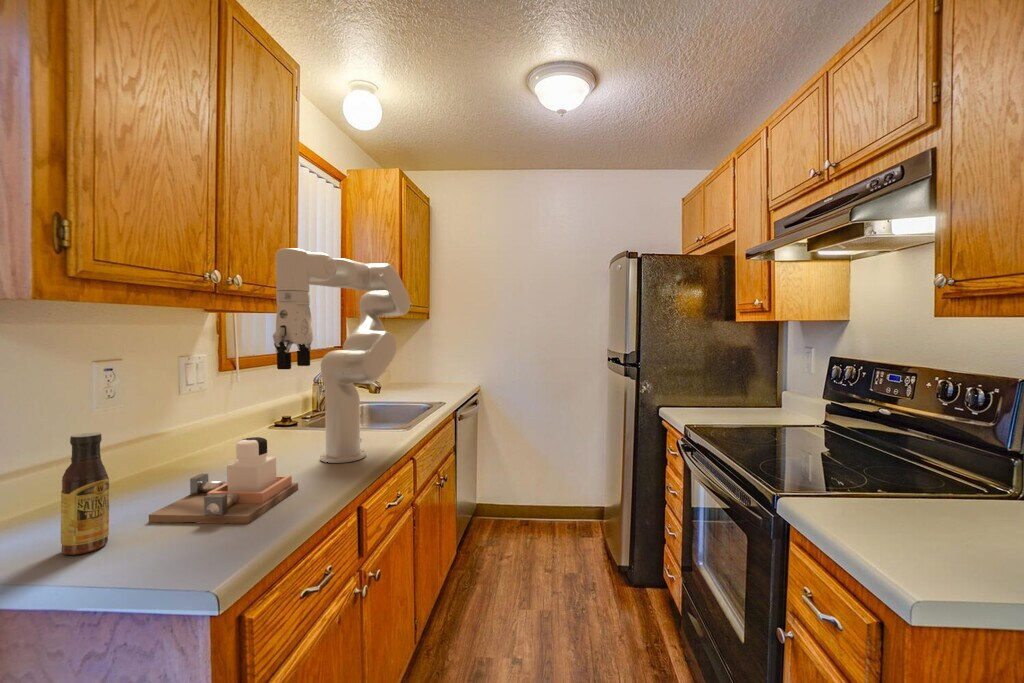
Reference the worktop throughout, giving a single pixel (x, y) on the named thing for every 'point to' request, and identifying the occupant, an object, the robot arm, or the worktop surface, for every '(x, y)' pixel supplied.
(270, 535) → the worktop surface
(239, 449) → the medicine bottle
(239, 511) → the square clamping fixture
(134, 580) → the worktop surface
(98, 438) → the sauce bottle
